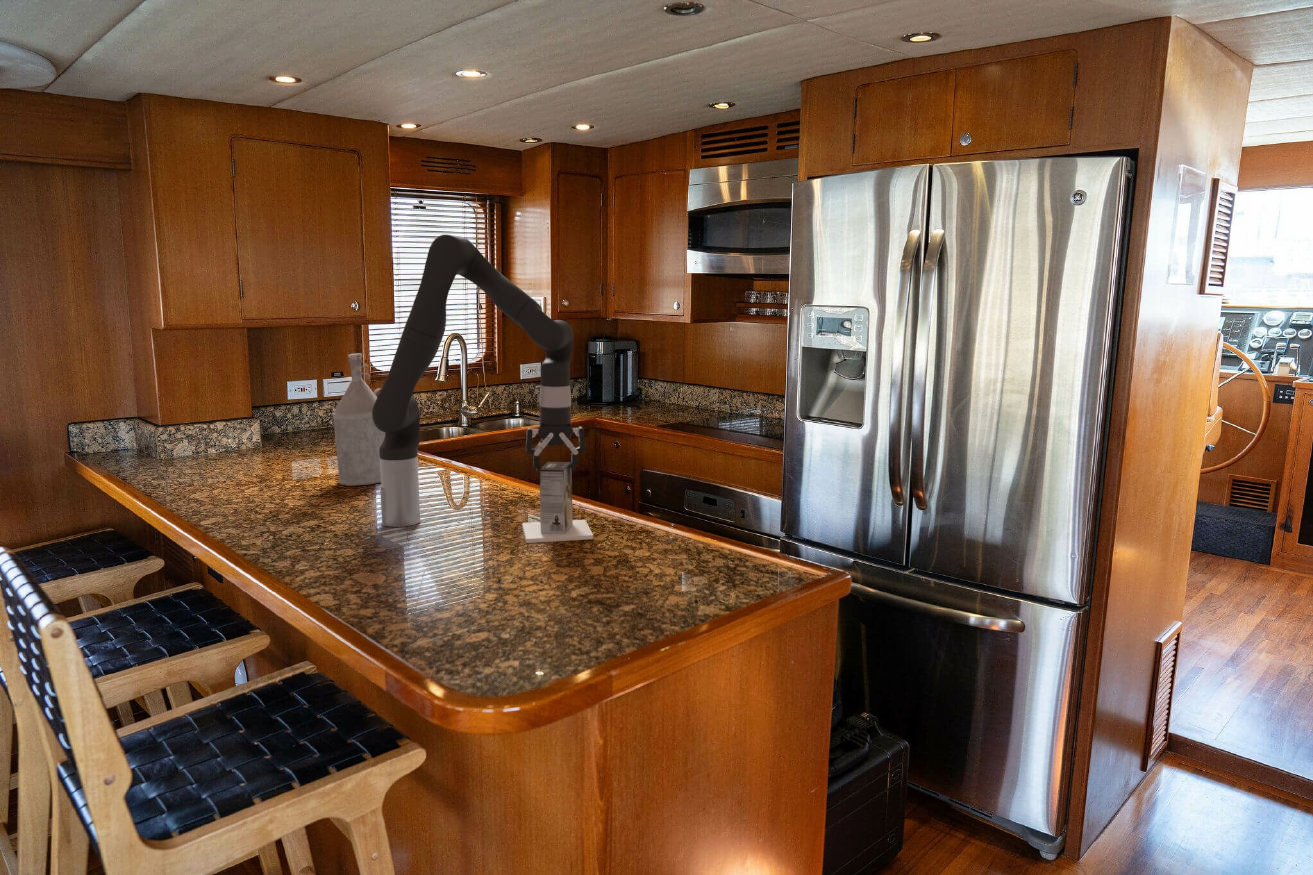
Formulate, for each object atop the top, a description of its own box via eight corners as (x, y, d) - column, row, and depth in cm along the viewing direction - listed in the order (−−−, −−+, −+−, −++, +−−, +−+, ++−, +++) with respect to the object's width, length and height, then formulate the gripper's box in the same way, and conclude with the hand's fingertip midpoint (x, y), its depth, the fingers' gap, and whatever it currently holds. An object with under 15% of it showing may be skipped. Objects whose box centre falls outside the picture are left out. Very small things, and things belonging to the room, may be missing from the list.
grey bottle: (402, 479, 269) (395, 352, 261) (351, 489, 256) (343, 355, 248) (379, 473, 277) (373, 350, 270) (329, 482, 264) (321, 353, 257)
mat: (526, 543, 204) (526, 538, 203) (522, 526, 217) (522, 523, 217) (593, 539, 207) (593, 535, 207) (585, 523, 220) (585, 519, 220)
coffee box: (548, 523, 217) (547, 461, 214) (573, 524, 216) (572, 461, 213) (539, 533, 208) (538, 468, 205) (565, 534, 207) (565, 469, 204)
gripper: (526, 406, 201) (527, 474, 204) (586, 405, 204) (586, 472, 207) (524, 402, 208) (525, 467, 211) (582, 401, 211) (582, 465, 214)
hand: (555, 469), depth 209 cm, fingers open, 8 cm apart
